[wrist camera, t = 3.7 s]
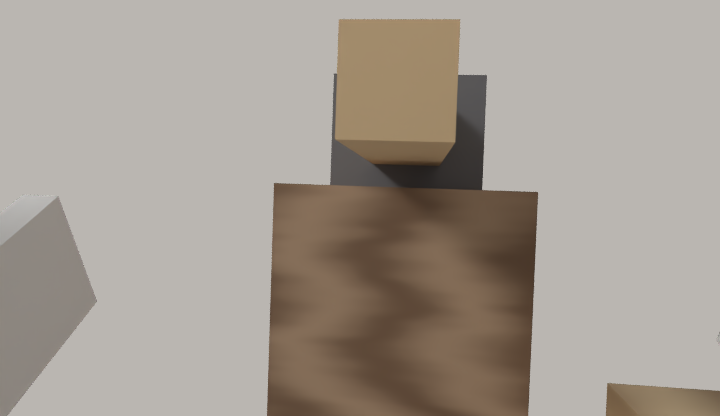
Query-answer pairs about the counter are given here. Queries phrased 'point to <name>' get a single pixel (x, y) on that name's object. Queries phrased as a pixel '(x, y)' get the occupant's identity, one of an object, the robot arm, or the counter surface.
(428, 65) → the grey and tan block
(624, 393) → the oak step
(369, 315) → the walnut post
